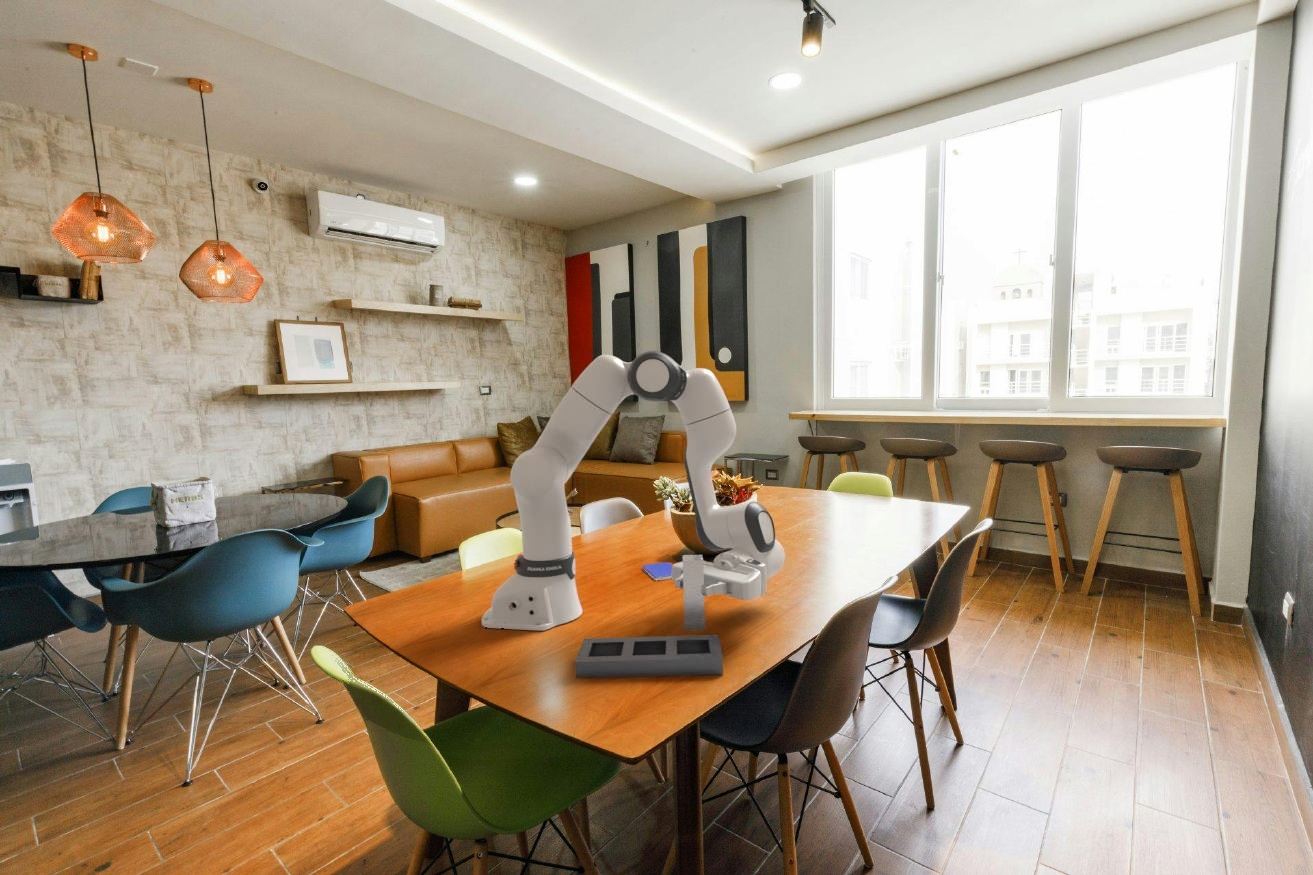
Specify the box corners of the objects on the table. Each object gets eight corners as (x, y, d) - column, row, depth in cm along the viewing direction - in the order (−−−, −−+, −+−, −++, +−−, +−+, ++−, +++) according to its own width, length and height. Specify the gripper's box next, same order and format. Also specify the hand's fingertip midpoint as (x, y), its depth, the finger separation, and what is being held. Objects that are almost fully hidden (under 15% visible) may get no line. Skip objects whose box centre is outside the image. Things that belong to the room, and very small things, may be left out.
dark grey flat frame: (575, 678, 104) (575, 661, 104) (584, 653, 114) (583, 638, 114) (723, 674, 103) (722, 658, 103) (719, 649, 113) (718, 634, 113)
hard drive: (684, 573, 160) (668, 561, 172) (655, 576, 157) (641, 565, 169) (684, 578, 160) (669, 566, 172) (655, 582, 157) (642, 570, 169)
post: (684, 630, 116) (682, 560, 115) (684, 622, 120) (682, 555, 119) (705, 629, 116) (703, 560, 115) (704, 622, 120) (702, 554, 119)
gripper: (695, 549, 134) (652, 563, 124) (772, 565, 120) (731, 582, 110) (696, 576, 134) (653, 592, 125) (772, 595, 120) (731, 615, 110)
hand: (690, 588), depth 117 cm, fingers closed on post, 6 cm apart
